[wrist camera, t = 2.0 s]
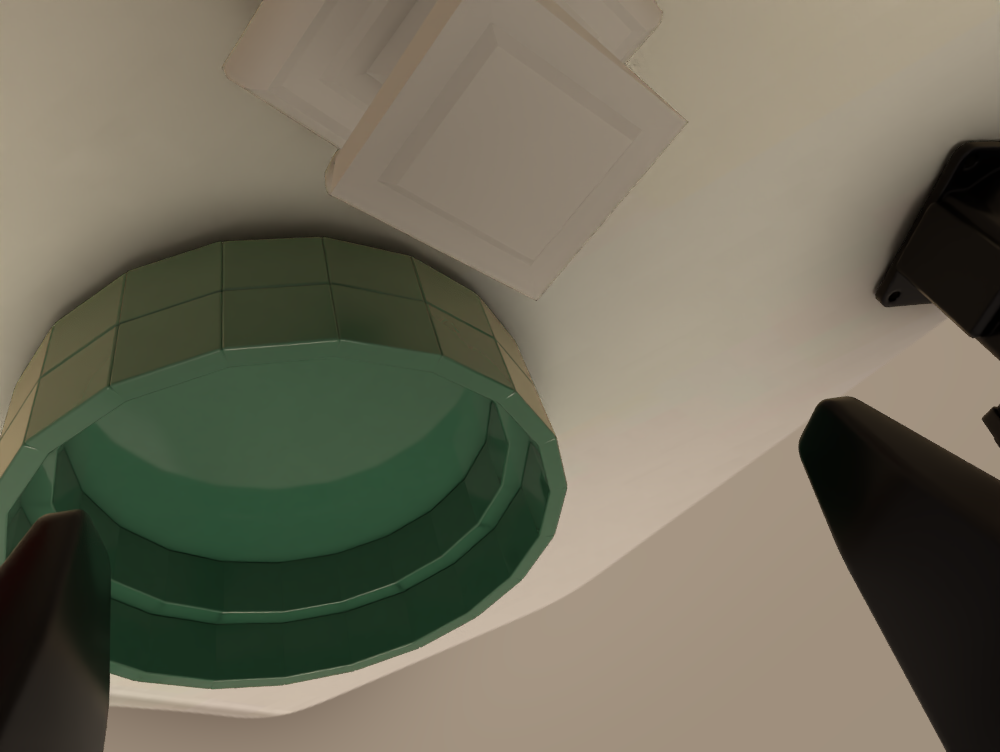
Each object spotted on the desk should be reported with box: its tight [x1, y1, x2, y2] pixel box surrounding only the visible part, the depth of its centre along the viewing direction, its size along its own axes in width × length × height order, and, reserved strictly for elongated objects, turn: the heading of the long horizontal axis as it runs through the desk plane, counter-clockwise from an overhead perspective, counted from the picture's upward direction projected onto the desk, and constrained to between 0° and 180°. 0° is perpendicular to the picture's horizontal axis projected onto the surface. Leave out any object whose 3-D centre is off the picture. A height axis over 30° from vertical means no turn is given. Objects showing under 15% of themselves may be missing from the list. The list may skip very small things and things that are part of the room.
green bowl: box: [0, 237, 567, 689], centre depth 24 cm, size 16×16×5 cm
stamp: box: [222, 0, 688, 301], centre depth 14 cm, size 9×7×8 cm
